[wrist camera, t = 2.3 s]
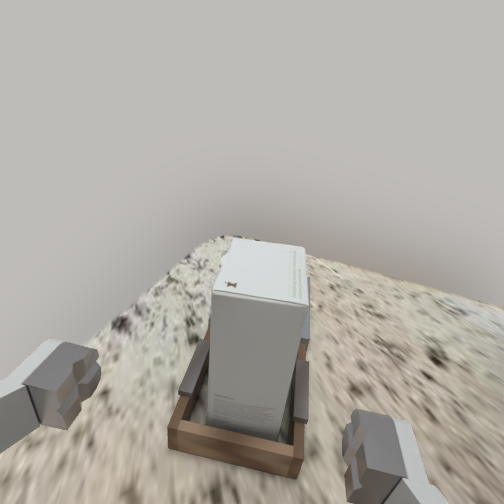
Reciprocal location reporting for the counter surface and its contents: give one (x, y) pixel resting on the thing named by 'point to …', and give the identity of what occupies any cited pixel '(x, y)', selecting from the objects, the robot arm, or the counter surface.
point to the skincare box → (255, 335)
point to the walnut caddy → (235, 444)
